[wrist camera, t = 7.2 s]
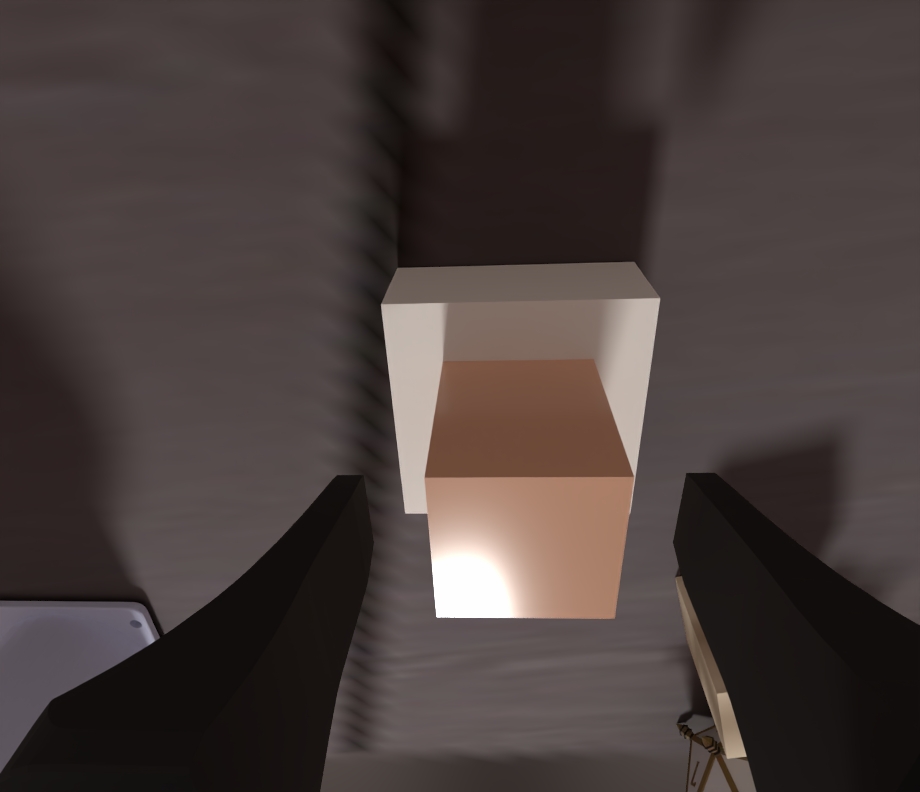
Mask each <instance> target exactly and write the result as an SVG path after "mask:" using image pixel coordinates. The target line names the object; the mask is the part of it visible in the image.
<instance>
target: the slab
mask: <svg viewBox="0 0 920 792" xmlns="http://www.w3.org/2000/svg"><path fill="white" fill-rule="evenodd" d="M659 303H660V297H659V296H658V294H657V293H656V292H655V290H654V289H653V287H652V286H651V285H650V283H649V282H648V280H647V279H646V278H645V276H644V275H643V273H642V272H641V271H640V269H639V268H638V266H637V265H636V264H635V262H607V263H568V264H530V265H492V266H454V267H415V268H397V270H396V272H395V275H394V277H393V279H392V281H391V283H390V286H389V288H388V290H387V292H386V295H385V297H384V299H383V301H382V304H381V308H382V316H383V325H384V334H385V342H386V351H387V360H388V368H389V377H390V385H391V394H392V403H393V411H394V420H395V429H396V437H397V446H398V454H399V463H400V472H401V480H402V489H403V498H404V506H405V513H427V502H426V491H425V479H424V477H425V470H426V464H427V458H428V452H429V445H430V439H431V433H432V426H433V420H434V414H435V408H436V401H437V395H438V389H439V382H440V376H441V370H442V364H443V361H504V360H569V359H594V362H595V364H596V367H597V370H598V373H599V376H600V379H601V382H602V385H603V388H604V391H605V393H606V396H607V399H608V402H609V405H610V408H611V411H612V414H613V417H614V420H615V422H616V425H617V428H618V431H619V434H620V437H621V440H622V443H623V446H624V449H625V451H626V454H627V457H628V460H629V463H630V466H631V469H632V472H633V475H634V483H635V476H636V468H637V461H638V454H639V447H640V440H641V432H642V425H643V418H644V411H645V404H646V397H647V389H648V382H649V375H650V368H651V361H652V353H653V346H654V339H655V332H656V325H657V318H658V310H659ZM634 483H633V490H634ZM633 490H632V497H633ZM632 497H631V504H632ZM631 504H630V511H631ZM630 511H629V513H630Z"/></svg>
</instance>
